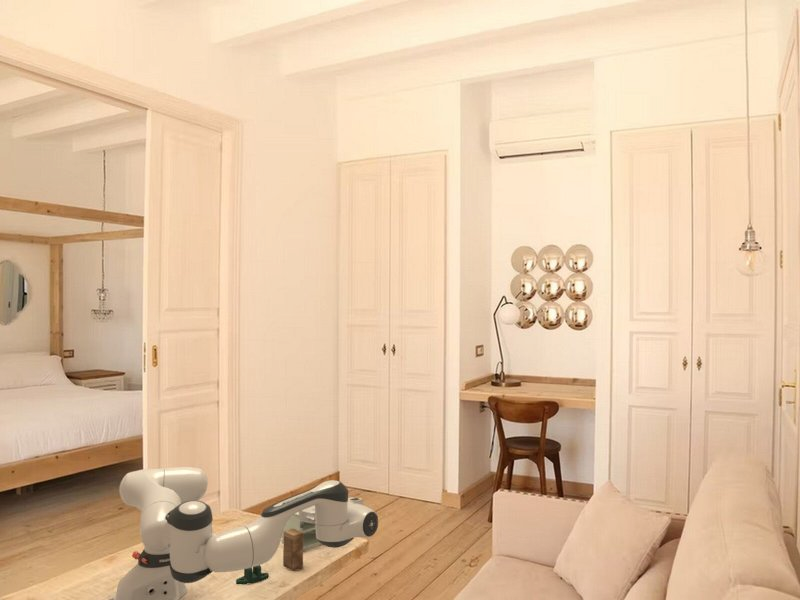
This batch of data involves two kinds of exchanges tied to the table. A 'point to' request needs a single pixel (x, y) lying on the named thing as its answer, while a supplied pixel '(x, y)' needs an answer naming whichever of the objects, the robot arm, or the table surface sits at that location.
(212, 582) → the table surface
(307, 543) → the cabinet
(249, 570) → the mount
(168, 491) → the robot arm
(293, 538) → the brown wooden tall block
